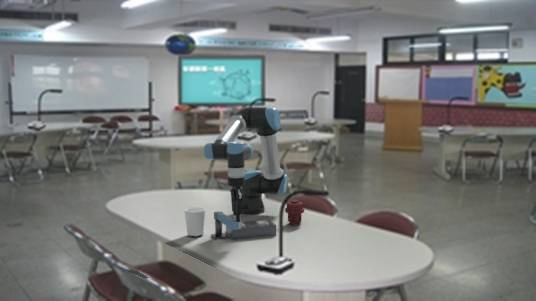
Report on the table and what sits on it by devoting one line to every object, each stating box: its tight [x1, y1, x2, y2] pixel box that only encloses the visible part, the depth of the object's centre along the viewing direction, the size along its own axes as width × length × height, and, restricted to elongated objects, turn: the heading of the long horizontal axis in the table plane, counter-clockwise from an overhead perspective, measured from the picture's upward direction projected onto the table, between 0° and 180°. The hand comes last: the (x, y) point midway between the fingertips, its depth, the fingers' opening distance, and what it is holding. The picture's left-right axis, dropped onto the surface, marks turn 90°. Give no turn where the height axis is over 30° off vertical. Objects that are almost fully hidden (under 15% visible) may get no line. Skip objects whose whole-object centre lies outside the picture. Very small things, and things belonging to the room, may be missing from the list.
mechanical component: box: [284, 199, 305, 226], centre depth 282 cm, size 12×10×10 cm
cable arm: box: [213, 211, 239, 230], centre depth 249 cm, size 24×4×3 cm, turn 26°
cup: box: [184, 206, 206, 238], centre depth 261 cm, size 10×10×13 cm
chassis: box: [225, 219, 277, 240], centre depth 263 cm, size 12×22×5 cm, turn 108°
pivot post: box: [210, 219, 227, 240], centre depth 258 cm, size 6×6×9 cm
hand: (237, 228), depth 244 cm, fingers closed
